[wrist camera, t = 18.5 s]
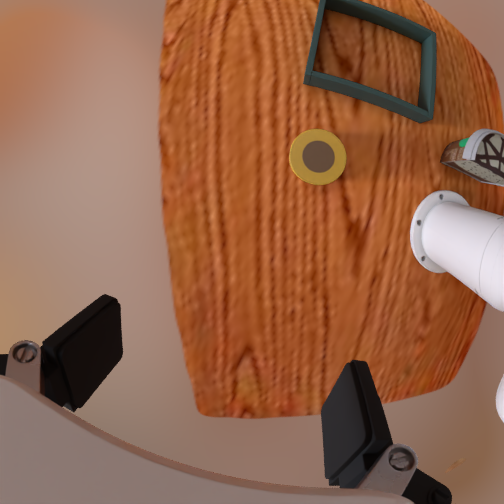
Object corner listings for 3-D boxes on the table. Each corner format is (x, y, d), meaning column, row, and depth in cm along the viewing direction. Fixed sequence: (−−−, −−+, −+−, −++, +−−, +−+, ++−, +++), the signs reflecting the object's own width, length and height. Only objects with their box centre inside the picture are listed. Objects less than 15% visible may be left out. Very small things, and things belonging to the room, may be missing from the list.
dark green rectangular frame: (425, 42, 25) (436, 33, 21) (420, 123, 30) (432, 119, 26) (319, 4, 26) (321, -10, 22) (303, 83, 31) (304, 74, 27)
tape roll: (343, 142, 32) (351, 137, 28) (332, 189, 34) (339, 191, 30) (294, 129, 33) (296, 122, 28) (284, 176, 35) (283, 177, 30)
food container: (490, 150, 28) (529, 151, 19) (486, 185, 30) (525, 192, 21) (437, 121, 29) (475, 111, 19) (432, 159, 31) (471, 158, 21)
